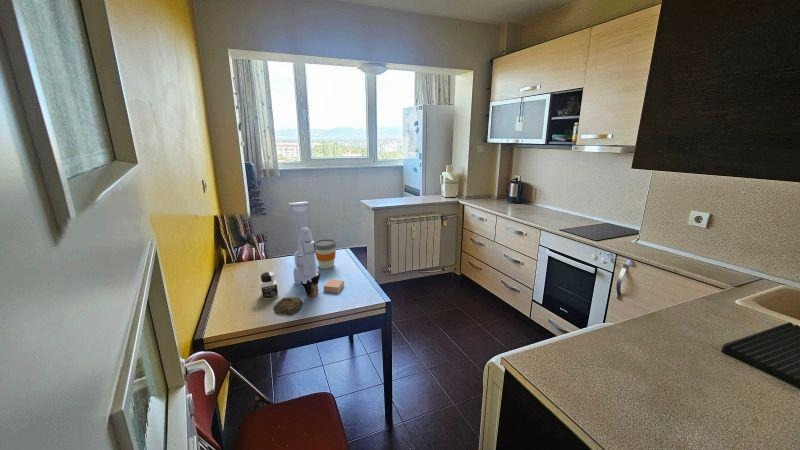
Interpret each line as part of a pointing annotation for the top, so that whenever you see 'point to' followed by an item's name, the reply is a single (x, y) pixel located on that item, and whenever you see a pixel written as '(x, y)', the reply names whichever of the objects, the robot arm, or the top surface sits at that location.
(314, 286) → the walnut block
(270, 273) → the medicine bottle
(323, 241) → the reusable coffee cup
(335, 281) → the terracotta tile
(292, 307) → the bread roll
